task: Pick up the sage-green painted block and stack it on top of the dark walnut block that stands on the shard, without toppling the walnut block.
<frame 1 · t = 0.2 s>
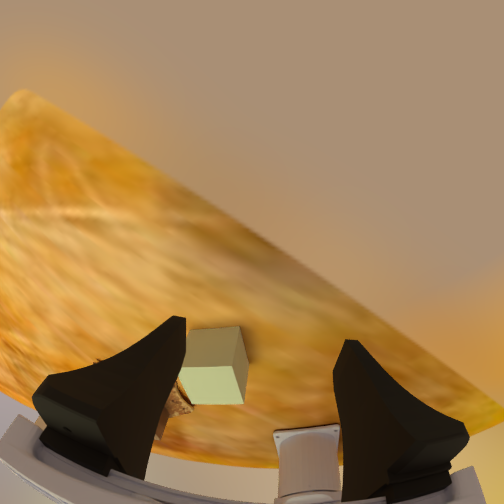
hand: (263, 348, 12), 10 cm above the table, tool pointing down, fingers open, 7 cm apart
walnut block: (143, 399, 27), point 1 cm above the table, touching shard
shard: (147, 388, 29), on the table, touching walnut block
sage block: (220, 347, 25), on the table
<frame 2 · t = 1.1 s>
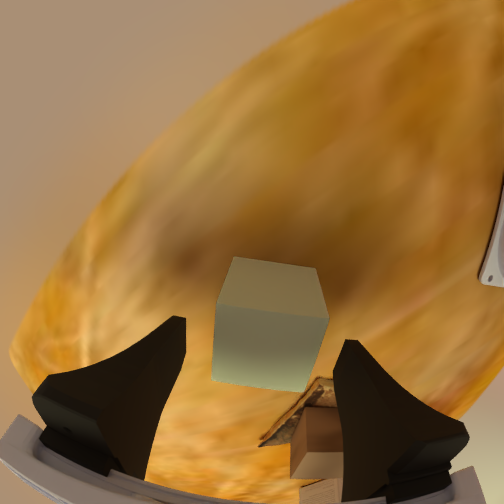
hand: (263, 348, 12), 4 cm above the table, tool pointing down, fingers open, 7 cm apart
walnut block: (327, 425, 19), point 1 cm above the table
skincare box: (326, 482, 26), on the table
shard: (329, 411, 21), on the table
sage block: (268, 297, 16), on the table
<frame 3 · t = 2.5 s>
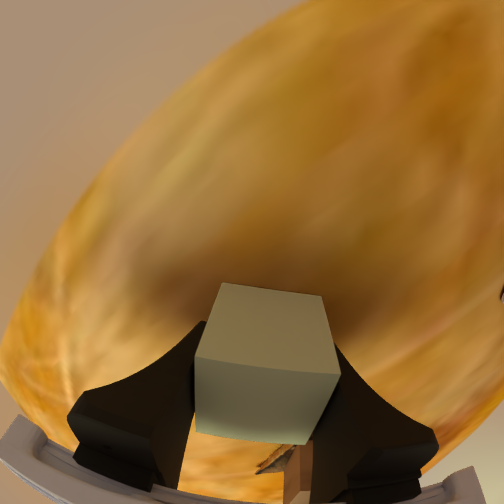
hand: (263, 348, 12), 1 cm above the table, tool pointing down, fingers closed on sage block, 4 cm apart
walnut block: (324, 456, 16), point 1 cm above the table
shard: (331, 438, 18), on the table
sage block: (264, 329, 13), on the table, touching gripper
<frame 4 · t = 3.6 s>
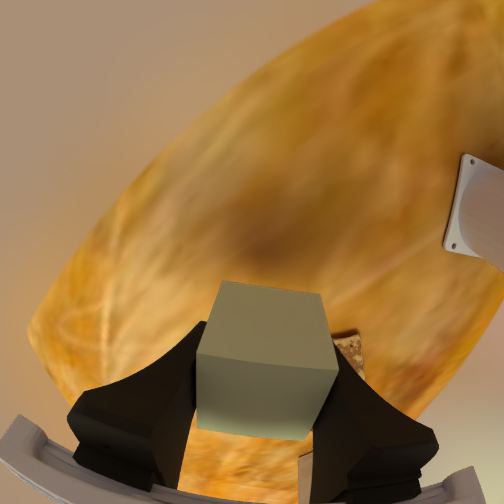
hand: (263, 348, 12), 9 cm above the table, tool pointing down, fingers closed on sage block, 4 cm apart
skincare box: (323, 451, 30), on the table
shard: (321, 370, 25), on the table, touching walnut block
sage block: (264, 327, 14), point 8 cm above the table, touching gripper
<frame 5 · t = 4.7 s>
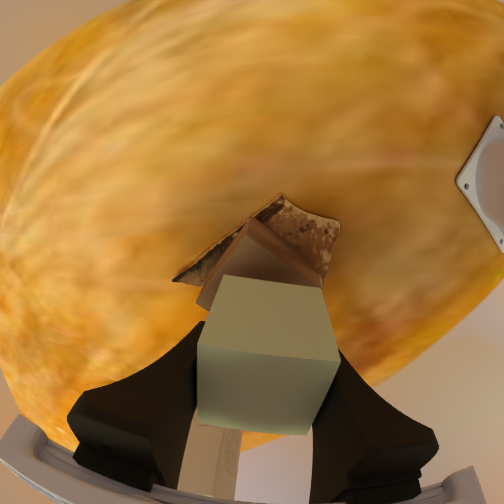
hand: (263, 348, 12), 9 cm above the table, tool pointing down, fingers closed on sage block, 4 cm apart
walnut block: (260, 266, 19), point 1 cm above the table, touching shard
skincare box: (213, 402, 27), on the table
shard: (268, 265, 21), on the table, touching walnut block
sage block: (265, 322, 14), point 7 cm above the table, touching gripper
when the fingers open (9 cm above the table, at t = 5.5 s): sage block drops 2 cm, point 5 cm above the table.
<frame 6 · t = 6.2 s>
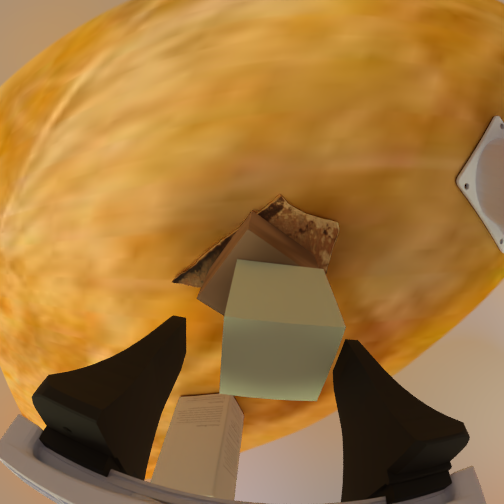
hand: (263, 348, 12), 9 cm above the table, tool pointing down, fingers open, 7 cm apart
walnut block: (261, 261, 19), point 1 cm above the table, touching shard
skincare box: (213, 403, 27), on the table
shard: (268, 266, 21), on the table, touching walnut block
sage block: (274, 301, 15), point 5 cm above the table
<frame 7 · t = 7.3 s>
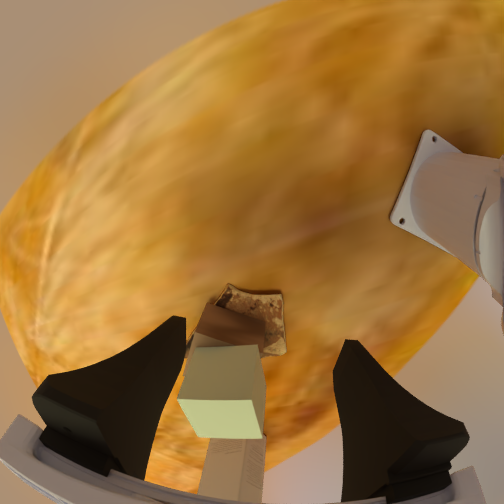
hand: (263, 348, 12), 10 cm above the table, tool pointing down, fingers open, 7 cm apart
walnut block: (228, 334, 24), point 1 cm above the table, touching shard, sage block
skincare box: (239, 431, 31), on the table
shard: (242, 331, 26), on the table, touching walnut block
sage block: (232, 368, 20), point 5 cm above the table, touching walnut block
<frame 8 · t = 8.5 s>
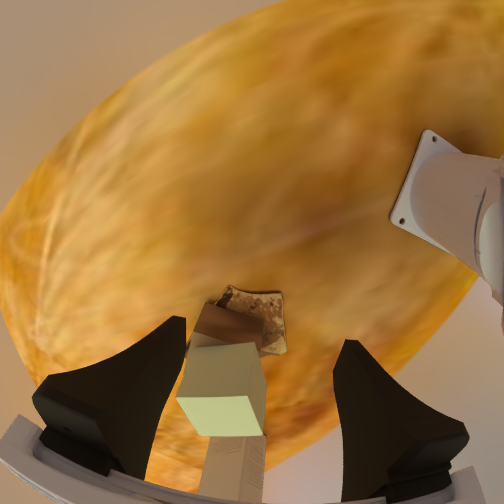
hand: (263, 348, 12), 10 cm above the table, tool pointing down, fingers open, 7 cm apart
walnut block: (227, 334, 24), point 1 cm above the table, touching shard, sage block
skincare box: (239, 431, 31), on the table
shard: (243, 331, 26), on the table, touching walnut block
sage block: (231, 367, 20), point 5 cm above the table, touching walnut block
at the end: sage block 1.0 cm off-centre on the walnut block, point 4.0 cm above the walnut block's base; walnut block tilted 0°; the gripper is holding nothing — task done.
